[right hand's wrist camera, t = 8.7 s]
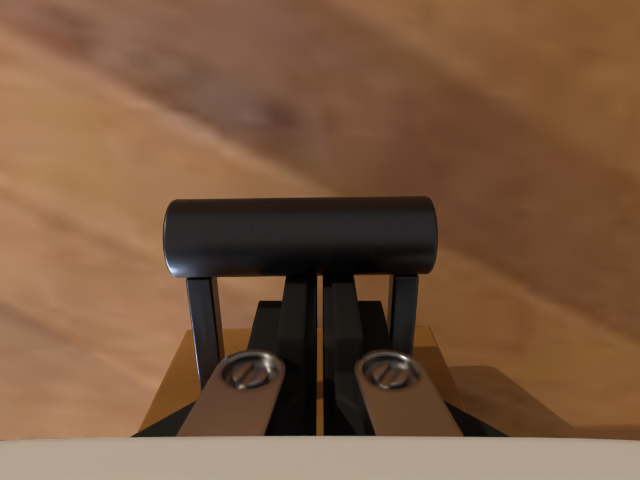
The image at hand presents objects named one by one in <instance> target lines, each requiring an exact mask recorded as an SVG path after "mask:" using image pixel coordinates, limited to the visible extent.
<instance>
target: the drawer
mask: <svg viewBox="0 0 640 480" xmlns="http://www.w3.org/2000/svg"><path fill="white" fill-rule="evenodd" d="M437 247H438V226H437V217H436V212H435V208H434V205H433V203H432V201H431V199H430V198H428V197H426V196H408V197H329V198H250V199H176V200H174V201H172V202H171V203H170V204H169V206H168V208H167V210H166V214H165V218H164V224H163V250H164V256H165V261H166V264H167V267H168V270H169V272H170V273H171V274H172V275H173V276H175V277H177V278H183V277H187V279H186V286H187V293H188V301H189V308H190V316H191V323H192V330H187V331H186V333H185V335H184V337H183V339H182V342H181V344H180V346H179V348H178V350H177V352H176V354H175V356H174V358H173V360H172V362H171V364H170V366H169V368H168V371H167V373H166V375H165V377H164V379H163V381H162V383H161V385H160V387H159V389H158V391H157V393H156V395H155V398H154V400H153V402H152V404H151V406H150V408H149V410H148V412H147V414H146V416H145V418H144V420H143V422H142V425H141V427H140V429H139V431H138V432H140V431H142V430H144V429H146V428H147V427H149V426H151V425H153V424H154V423H156V422H158V421H160V420H162V419H163V418H165V417H167V416H169V415H171V414H172V413H174V412H176V411H178V410H180V409H181V408H183V407H185V406H187V405H189V404H190V403H192V402H194V401H196V400H197V399H198V397H199V396H200V394H201V392H202V390H203V389H204V387H205V385H206V384H207V382H208V380H209V378H210V377H211V375H212V373H213V372H214V370H215V368H216V367H217V365H218V364H219V363H220V362H221V361H222V360H223V359H225V358H226V357H228V356H229V355H231V354H234V353H236V352H239V351H244V350H247V346H248V343H249V339H250V335H251V331H252V329H222V323H221V314H220V304H219V294H218V285H217V277H255V276H327V275H390V279H389V299H388V318H387V327H388V331H389V335H390V339H391V343H392V347H393V350H396V351H401V352H404V353H406V354H409V355H411V356H412V357H414V358H415V359H417V360H418V361H419V362H420V363H421V364H422V365H423V367H424V368H425V370H426V372H427V373H428V375H429V377H430V378H431V380H432V382H433V384H434V385H435V387H436V389H437V390H438V392H439V394H440V396H441V397H442V399H443V400H444V401H446V402H448V403H450V404H451V405H453V406H455V407H457V408H459V409H460V410H462V411H464V412H466V413H467V410H466V408H465V406H464V404H463V401H462V399H461V397H460V394H459V392H458V390H457V388H456V385H455V383H454V381H453V379H452V376H451V374H450V372H449V370H448V367H447V365H446V363H445V360H444V358H443V356H442V354H441V351H440V349H439V347H438V345H437V342H436V340H435V338H434V336H433V333H432V331H431V329H430V327H429V326H415V320H416V307H417V295H418V282H419V277H418V274H428V273H430V272H431V271H432V269H433V267H434V264H435V260H436V255H437ZM316 436H324V434H323V328H317V427H316Z"/></svg>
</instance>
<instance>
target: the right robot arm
mask: <svg viewBox="0 0 640 480" xmlns="http://www.w3.org/2000/svg"><path fill="white" fill-rule="evenodd" d="M316 427H317V276H286V281H285V287H284V294H283V300H282V301H259V304H258V307H257V311H256V315H255V319H254V323H253V327H252V331H251V335H250V339H249V343H248V346H247V350H244V351H239V352H236V353H234V354H231V355H229V356H228V357H226V358H225V359H223V360H222V361H221V362H220V363H219V364H218V365H217V367H216V368H215V370H214V372H213V373H212V375H211V377H210V378H209V380H208V382H207V384H206V385H205V387H204V389H203V390H202V392H201V394H200V396H199V397H198V399H197V400H196V401H194V402H192V403H190V404H189V405H187V406H185V407H183V408H181V409H180V410H178V411H176V412H174V413H172V414H171V415H169V416H167V417H165V418H163V419H162V420H160V421H158V422H156V423H154V424H153V425H151V426H149V427H147V428H146V429H144V430H142V431H140V432H138V433H137V434H135V435H133V436H131V437H122V438H51V439H23V440H0V480H640V440H617V439H589V438H527V437H509V436H507V435H505V434H503V433H502V432H500V431H498V430H496V429H494V428H493V427H491V426H489V425H487V424H485V423H484V422H482V421H480V420H478V419H476V418H475V417H473V416H471V415H469V414H468V413H466V412H464V411H462V410H460V409H459V408H457V407H455V406H453V405H451V404H450V403H448V402H446V401H444V400H443V399H442V397H441V396H440V394H439V392H438V390H437V389H436V387H435V385H434V384H433V382H432V380H431V378H430V377H429V375H428V373H427V372H426V370H425V368H424V367H423V365H422V364H421V363H420V362H419V361H418V360H417V359H415V358H414V357H412V356H411V355H409V354H406V353H404V352H401V351H396V350H393V347H392V343H391V339H390V335H389V331H388V327H387V323H386V319H385V316H384V312H383V308H382V304H381V301H358V300H357V294H356V288H355V282H354V275H327V276H323V434H324V436H316Z"/></svg>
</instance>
